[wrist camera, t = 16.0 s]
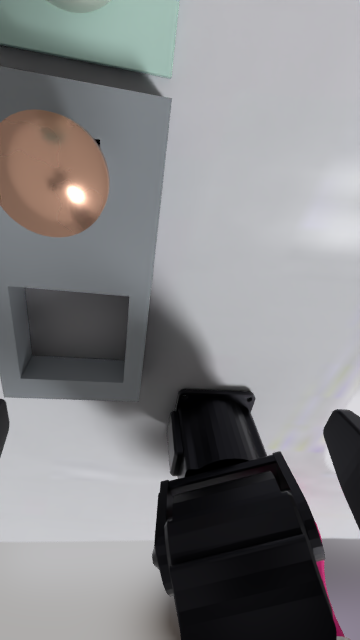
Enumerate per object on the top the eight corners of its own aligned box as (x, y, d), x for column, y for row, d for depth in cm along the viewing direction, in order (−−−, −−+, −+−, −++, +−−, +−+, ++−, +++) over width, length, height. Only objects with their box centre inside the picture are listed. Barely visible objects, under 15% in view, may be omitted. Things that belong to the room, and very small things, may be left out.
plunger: (120, 125, 16) (110, 121, 11) (116, 214, 18) (106, 243, 13) (28, 110, 15) (-26, 98, 10) (35, 204, 17) (-6, 230, 13)
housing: (168, 103, 16) (171, 98, 14) (139, 378, 25) (138, 401, 22) (-28, 67, 14) (-58, 55, 12) (17, 372, 23) (4, 397, 21)
